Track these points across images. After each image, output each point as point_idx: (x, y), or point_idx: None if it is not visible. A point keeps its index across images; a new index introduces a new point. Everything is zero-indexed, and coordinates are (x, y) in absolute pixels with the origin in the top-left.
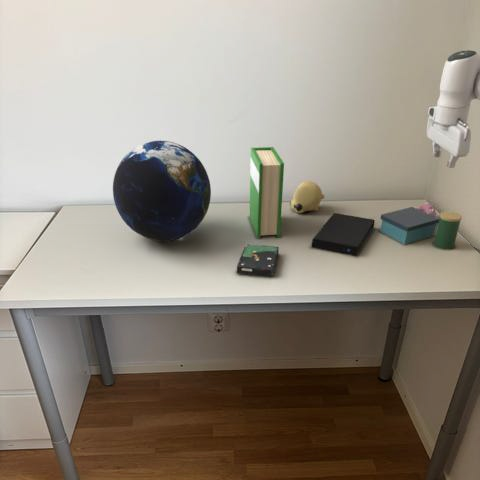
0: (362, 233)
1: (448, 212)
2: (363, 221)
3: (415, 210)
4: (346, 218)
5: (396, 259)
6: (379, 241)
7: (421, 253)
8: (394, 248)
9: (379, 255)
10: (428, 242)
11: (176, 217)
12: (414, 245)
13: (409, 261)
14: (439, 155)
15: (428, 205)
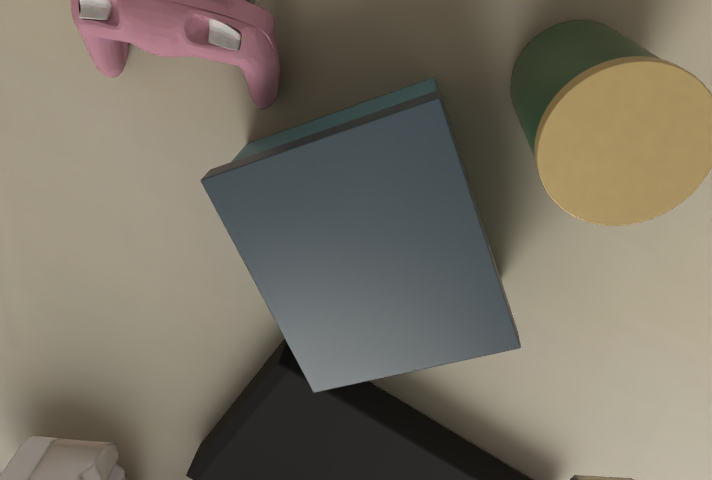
0: (428, 464)
1: (563, 138)
2: (294, 413)
3: (268, 189)
4: (253, 459)
5: (635, 377)
6: (437, 366)
7: (622, 251)
8: (526, 339)
9: (572, 419)
10: (510, 152)
11: None
12: (523, 241)
13: (677, 338)
14: (104, 469)
15: (162, 40)
